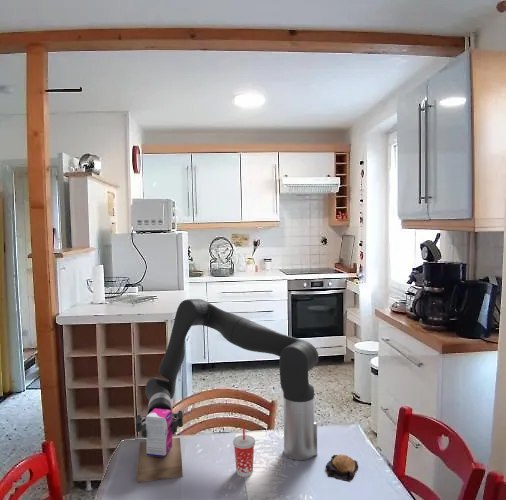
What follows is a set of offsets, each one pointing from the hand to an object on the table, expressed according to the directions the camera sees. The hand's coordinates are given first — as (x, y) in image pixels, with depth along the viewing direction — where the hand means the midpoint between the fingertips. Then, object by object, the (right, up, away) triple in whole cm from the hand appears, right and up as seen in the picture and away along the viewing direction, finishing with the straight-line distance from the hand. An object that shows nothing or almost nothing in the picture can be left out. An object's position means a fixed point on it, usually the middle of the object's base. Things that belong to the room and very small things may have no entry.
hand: (159, 432), depth 118 cm
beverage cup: (+24, -10, -2) cm, 26 cm away
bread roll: (+52, -10, -2) cm, 53 cm away
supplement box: (0, -7, +2) cm, 7 cm away
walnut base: (0, -10, +2) cm, 10 cm away
